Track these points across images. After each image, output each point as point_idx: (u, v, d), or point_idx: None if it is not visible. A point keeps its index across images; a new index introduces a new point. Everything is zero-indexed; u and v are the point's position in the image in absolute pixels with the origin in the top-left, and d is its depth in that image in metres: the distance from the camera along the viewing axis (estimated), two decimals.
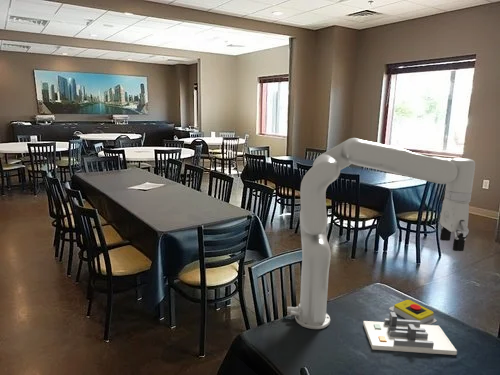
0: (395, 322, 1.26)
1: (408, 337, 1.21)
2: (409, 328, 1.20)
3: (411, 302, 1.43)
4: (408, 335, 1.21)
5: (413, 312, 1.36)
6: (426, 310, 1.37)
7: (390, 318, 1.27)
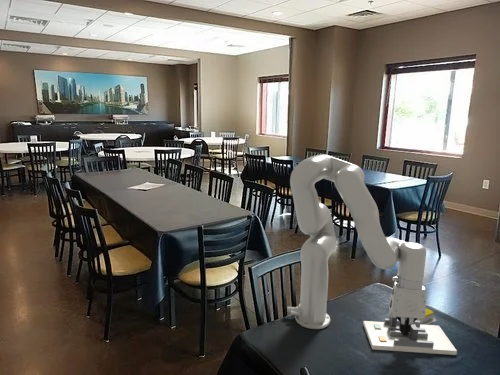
0: (395, 322, 1.26)
1: (410, 337, 1.21)
2: (411, 328, 1.20)
3: None
4: (410, 335, 1.21)
5: None
6: (426, 309, 1.38)
7: (390, 318, 1.27)
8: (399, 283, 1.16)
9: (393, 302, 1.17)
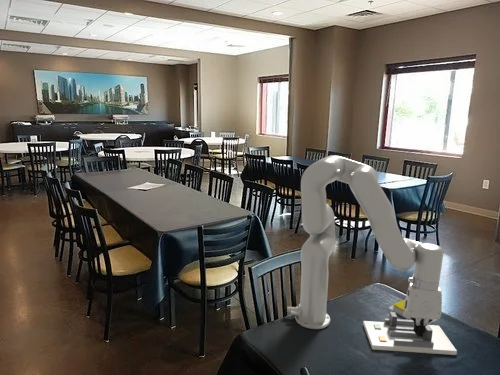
0: (395, 322, 1.26)
1: (424, 338, 1.20)
2: (425, 329, 1.20)
3: None
4: (424, 336, 1.20)
5: None
6: None
7: (390, 318, 1.27)
8: (415, 284, 1.15)
9: (408, 303, 1.16)
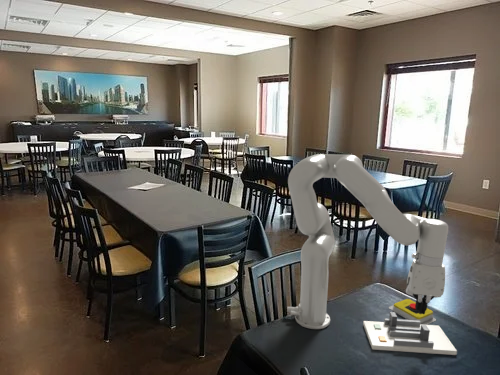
0: (395, 322, 1.26)
1: (421, 338, 1.20)
2: (422, 329, 1.20)
3: (411, 301, 1.44)
4: (421, 336, 1.20)
5: (412, 311, 1.36)
6: None
7: (390, 318, 1.27)
8: (418, 260, 1.13)
9: (411, 279, 1.15)
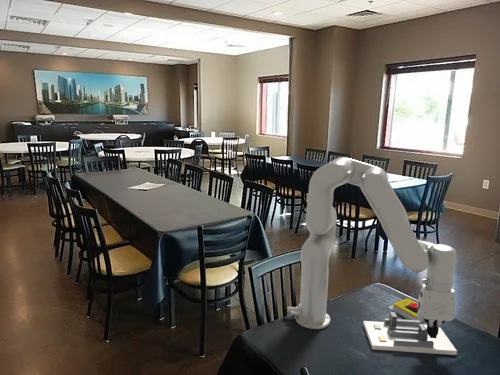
0: (395, 322, 1.26)
1: (419, 338, 1.20)
2: (420, 329, 1.20)
3: (410, 301, 1.44)
4: (419, 336, 1.20)
5: (412, 311, 1.37)
6: None
7: (390, 318, 1.27)
8: (428, 285, 1.15)
9: (422, 304, 1.16)
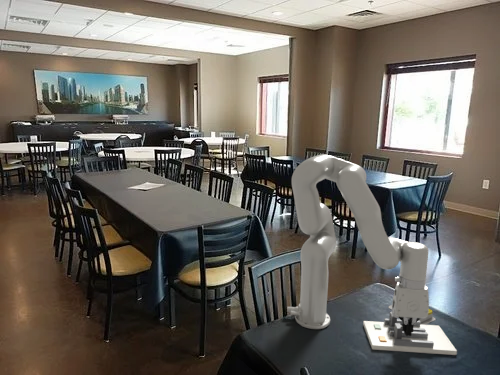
0: (395, 322, 1.26)
1: (394, 336, 1.21)
2: (395, 327, 1.20)
3: None
4: (394, 334, 1.21)
5: None
6: None
7: (390, 318, 1.27)
8: (402, 283, 1.15)
9: (396, 302, 1.16)
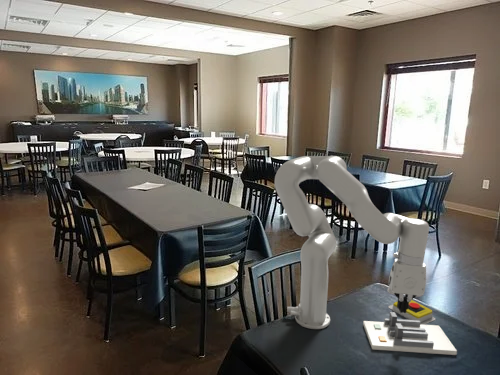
0: (395, 322, 1.26)
1: (395, 336, 1.21)
2: (396, 327, 1.20)
3: None
4: (395, 334, 1.21)
5: (412, 310, 1.37)
6: (425, 308, 1.38)
7: (390, 318, 1.27)
8: (400, 259, 1.14)
9: (392, 278, 1.15)
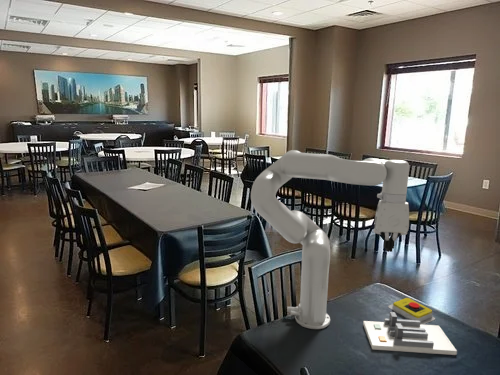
0: (395, 322, 1.26)
1: (395, 336, 1.21)
2: (396, 327, 1.20)
3: (410, 300, 1.44)
4: (395, 334, 1.21)
5: (412, 310, 1.37)
6: (425, 308, 1.39)
7: (390, 318, 1.27)
8: (383, 198, 1.20)
9: (377, 217, 1.21)
